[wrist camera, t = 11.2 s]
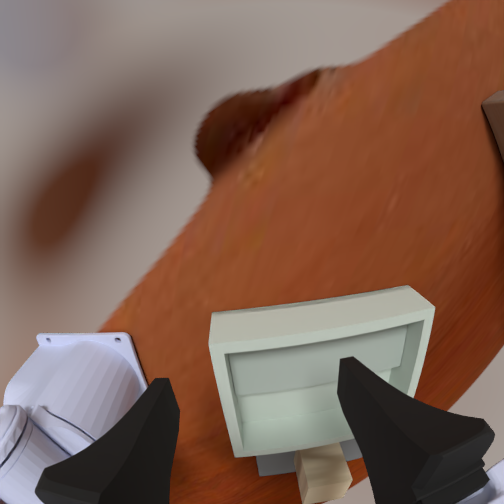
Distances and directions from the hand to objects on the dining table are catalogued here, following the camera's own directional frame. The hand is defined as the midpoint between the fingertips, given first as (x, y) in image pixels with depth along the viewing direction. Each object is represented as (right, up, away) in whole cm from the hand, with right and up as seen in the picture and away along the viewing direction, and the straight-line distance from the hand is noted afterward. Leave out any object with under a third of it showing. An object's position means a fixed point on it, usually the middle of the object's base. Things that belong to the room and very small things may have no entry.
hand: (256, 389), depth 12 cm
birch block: (+6, -14, +14) cm, 21 cm away
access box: (+5, -3, +11) cm, 13 cm away
